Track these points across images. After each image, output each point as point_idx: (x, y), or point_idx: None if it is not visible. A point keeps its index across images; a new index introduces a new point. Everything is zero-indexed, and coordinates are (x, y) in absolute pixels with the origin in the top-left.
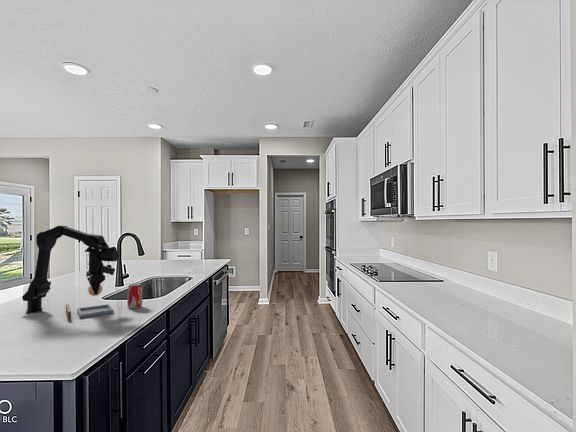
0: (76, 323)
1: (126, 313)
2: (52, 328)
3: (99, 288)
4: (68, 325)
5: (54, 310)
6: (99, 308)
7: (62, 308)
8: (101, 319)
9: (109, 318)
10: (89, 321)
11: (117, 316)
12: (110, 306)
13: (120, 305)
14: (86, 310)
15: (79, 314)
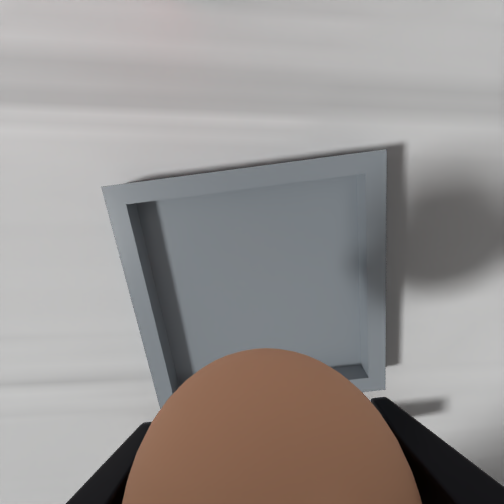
0: (479, 379)
1: (426, 33)
2: (497, 469)
3: (398, 462)
4: (493, 412)
5: (72, 496)
6: (161, 262)
7: (29, 467)
8: (488, 243)
9: (501, 188)
10: (485, 314)
11: (481, 122)
12: (214, 175)
13: (59, 75)
14: (189, 346)
15: (363, 389)
